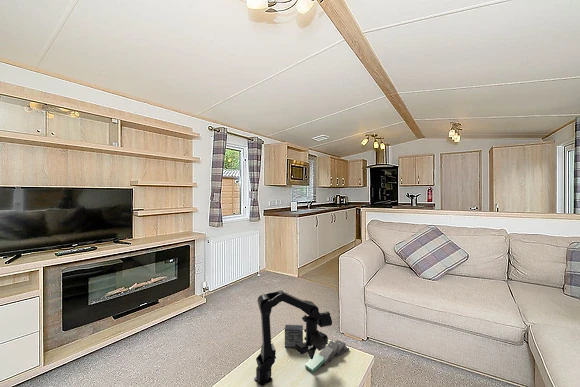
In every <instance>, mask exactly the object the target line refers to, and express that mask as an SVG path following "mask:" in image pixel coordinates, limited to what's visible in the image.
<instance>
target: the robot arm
mask: <svg viewBox="0 0 580 387" xmlns="http://www.w3.org/2000/svg"><path fill="white" fill-rule="evenodd" d="M281 302H283V303H286V304H288V305H290V306H293V307H295V308H296V309H299V310H301V311H302V312H303V313H305V314H304V316H303V317H302V318H301V319H302V321H303V323H305V328H304V329H303V333H305V336H304V337H303V342H301V341H300V342H298V343H296V344H295V348H294V350H295V351H296V352H298V353H299V354H300V355H305V354H306V353H307V354H308V357H309V360H310V359H311V360H312V359H313V357H314V355H315V354H316V351H320V352H321V351H322V349H324V348H325V346H327V345H328V344H329V337H328V335H327V334H326V333H324V332H322V331H320V330H318V327H319V328H325V327H330V326H331V327H332V326H333V319H332V316H331V312H329V311H325V312H319V311H320V309H319V307H318V306H317V304H315V303H314V301H311V300H306V299H304V300H303V299H300V298H298V297H296V296H293V295H292V294H290V293H287V292H285V291H284V290H282V289H279V290H276V291H271V292H268V293H265V294H264V293H262V294H261V295H259V296H258V297H257V305H258V308H259V312H260V320H261V322H260V324H261V336H262V337H261V339H262V340H261V342H262V344H261V346H260V353H259V355H257V357H256V358H255V360H256V364H257V366H256V369H255V370H256V371H255V372H256V376H255V377H254V381H256V382H257V383H258V385H259V386H261V387H264V386H265V385H266V384H268V383H270V382H272V381H273V380H274V379H273V378H272V367H273V365H274V364H275V361H276V359H277V357H276V351H277V350H276V348H275V346H274V343H273V342H272V336H271V334H272V332H271V313H272V309H273V308H275V307H276V306H277V305H279V304H280V303H281ZM304 341H305V342H304Z"/></svg>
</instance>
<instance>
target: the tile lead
mask: <svg viewBox="0 0 580 387" xmlns="http://www.w3.org/2000/svg"><path fill="white" fill-rule="evenodd" d="M324 362H325V358H323V357H322V356H320V355H319V353H316V352H315V354H314V357H313V359H312V360H311V359H310V358H309V360H308V361H307V362H305V364H304V366H305V368H306V369H307V370H308V371H310V372H311V373H312V374H314V373H315V372H316V371H317V370H318V369H319V368H320V367H321V366H323V365H322V364H323V363H324Z"/></svg>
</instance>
